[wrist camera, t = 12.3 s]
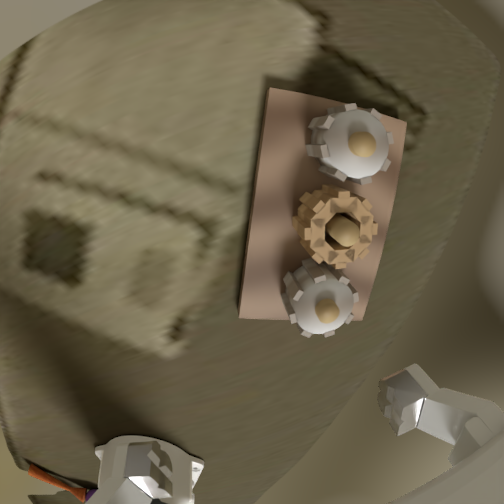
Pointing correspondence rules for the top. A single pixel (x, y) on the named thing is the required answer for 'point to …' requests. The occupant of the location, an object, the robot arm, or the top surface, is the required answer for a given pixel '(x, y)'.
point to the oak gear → (320, 212)
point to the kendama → (60, 483)
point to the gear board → (287, 203)
